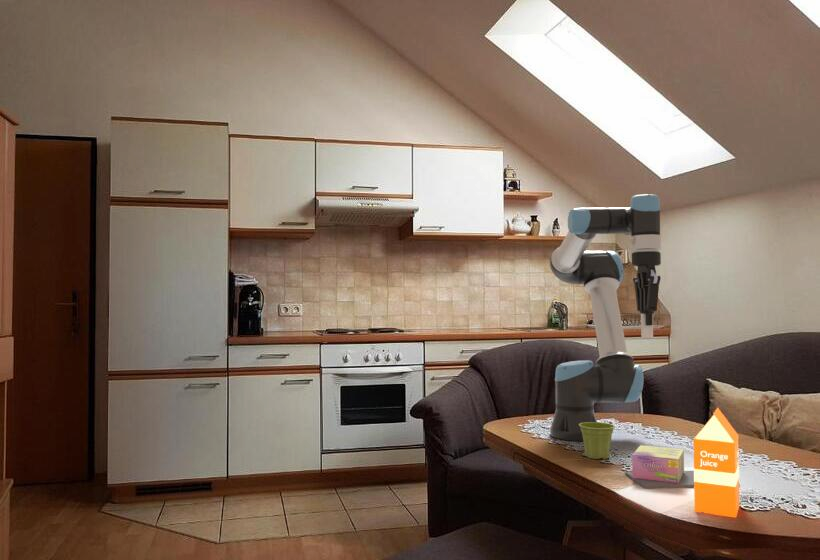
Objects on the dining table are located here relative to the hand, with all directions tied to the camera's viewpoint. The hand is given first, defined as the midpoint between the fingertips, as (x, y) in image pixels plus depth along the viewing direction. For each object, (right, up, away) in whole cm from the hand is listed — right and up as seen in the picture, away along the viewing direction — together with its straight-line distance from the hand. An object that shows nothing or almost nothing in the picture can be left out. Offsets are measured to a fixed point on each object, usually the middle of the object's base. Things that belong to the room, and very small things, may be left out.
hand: (647, 337), depth 180 cm
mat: (-1, -32, -24) cm, 40 cm away
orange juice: (-2, -31, -45) cm, 55 cm away
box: (-2, -29, -16) cm, 33 cm away
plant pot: (-14, -33, -1) cm, 35 cm away
